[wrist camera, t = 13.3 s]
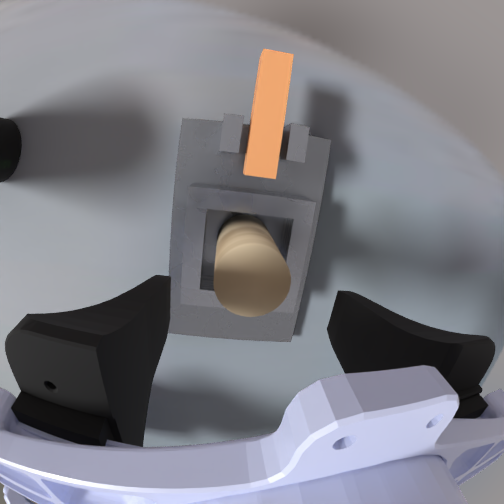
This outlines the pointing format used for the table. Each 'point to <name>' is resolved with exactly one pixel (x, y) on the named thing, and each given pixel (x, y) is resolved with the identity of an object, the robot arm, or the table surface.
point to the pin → (268, 114)
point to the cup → (9, 148)
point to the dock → (232, 204)
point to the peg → (249, 268)
